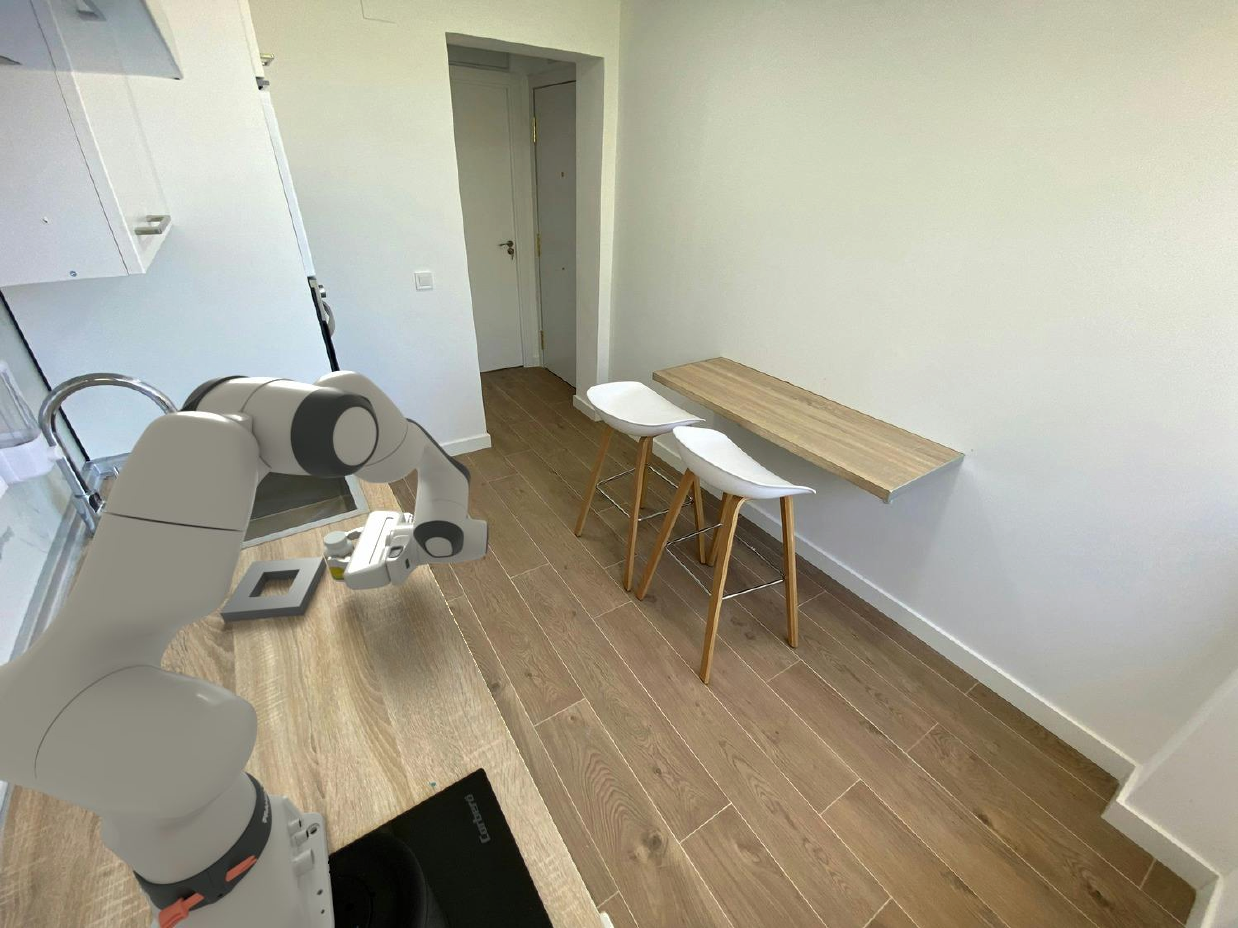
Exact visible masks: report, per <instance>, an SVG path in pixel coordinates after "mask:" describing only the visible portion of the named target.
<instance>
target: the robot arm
mask: <svg viewBox="0 0 1238 928" xmlns="http://www.w3.org/2000/svg"><path fill="white" fill-rule="evenodd" d="M414 470H416V471H417V490H416V499H415V506H414V514H412V513H411V512H402V511H399V510H374V511H371V512H370V513H369V514H368V516H367V519H366V520H365V523H364V525H363V526H362V527H357V528H354V529H351V530H349V531H348V532H346V531H344V532H345V533H346V535H347V538H348V539H349V540H350V541H354V540H357V542H356V544H355V546H354V551H353V553H352V555H351V557H346V558H345V559H342V558H339V556H338V555H330V556H329V557H328V559H327V561H326V560H325V562H326V566H327V567H328V566H329V567H337V566H338V567H340V568H342V569H344V570H345V572H344V574H343V577H344V580H345V582H344V583H345V585H346V587H347V588H348V589H350V590H352V591H361V590H362V591H363V590H370V589H371V590H372V589H379V588H382V587H383V588H384V587H387V586H388V585H389V584H390V583H391V585H392V586H393V587H398V586H402V585H404V584H405V583H406V581H407V580H408V579H409V577H410V576H411V574H412V573H413V572H414V571H415V570H416V569H417V568H418V566H427V565H429V564H431V563H432V564H433V563H440V564H454V563H455V564H456V563H461V562H470V561H474V560H476V559H477V560H479V559H481V558H484V557H485V556H486V554H487V553H488V549H489V538H490V527H489V524H488V523H489V522H487V521H486V520H483V519H473V518H472V517H471V515H469V514H468V510H469V509H468V508H469V491H470V487H471V479H472V475H471V472H470V471H469V469H468V468H467V467H466V466H465V465H464V464H463V463H461V462H460V461H458V460H456V459H455V458H454V457H452V456H450V455H449V454H448V453H447V452H446V451H445V449H443V447H442V446H441V445H440V444H439V442H437V440H436V439H435V438H434V437H432V435H431V434H430V433H429V432H428V431H427V430H426V429H425V428H424V426H422V425H421V424H420V423H418V422H417V421H415V420H413V419H412V418H409V417H405V415H404V414H403V413H402V411H401V410H400V409H399V408H398V406H397V405H396V403H394V402H393V401H392V400H391V398H390V397H388V395H387V394H386V393H385V392H384V391H383V390H382V389H381V388H380V387H379V386H378V385H376V384H375V383H374V382H373V381H372V380H371V379H370V378H368V377H367V376H365V374H364V375H363V374H361V373H360V372H358V371H357V372H356V371H353V370H337V371H333V372H329V373H327V374H325V375H323V376H320V377H319V378H317V380H315V381H314V382H313V383H312V384H311V383H307V382H300V381H296V380H293V379H290V378H280V377H266V376H265V377H257V376H256V377H255V376H254V377H250V376H247V375H246V376H245V375H239V374H238V375H226V376H221V377H216V378H212V379H209V380H207V381H205V382H203V383H202V384H200V385H198V386H197V387H196V388H195V389H194V390H193V391H191V393H190V394H189V395H188V397H187V398H186V399H185V401H184V402H183V405H182V407H181V408H180V409H179V410H178V411H176V412H170V413H167V414H166V413H165V414H163V415H161V416H158V417H157V418H155V419H154V420H153V421H152V422H150V423H149V424H148V425H147V426H146V428H145V430H144V431H143V432H142V434H141V435H140V436H139V438H138V440H137V441H136V443H135V444H134V446H133V448H132V449H131V451H130V453H129V455H127V458H126V460H125V461H124V463H123V465H122V467H121V469H120V471H119V473H118V475H117V477H116V479H115V482H114V483H113V485H112V488H111V490H110V492H109V495H108V498H107V500H106V503H105V505H104V508H103V511H102V513H101V516H100V519H99V522H98V525H97V528H96V530H95V531H94V532H95V533H94V535H93V537H92V540H91V542H90V545H89V548H88V550H87V554H86V555H85V558H84V561H83V563H82V566H81V569H80V572H79V574H78V575H77V576H78V577H77V579H76V582H75V584H74V586H73V588H72V590H71V592H70V593H69V595H68V597H67V599H66V600H65V603H63V606H62V607H61V608H60V610H59V612H58V613H57V615H56V616H55V617H54V618H53V619H52V621H51V622H50V624H49V625H48V626H47V628H46V629H45V630H44V631H43V632H42V633H41V635H40V636H39V637H38V638H37V639H36V640H35V641H34V643H33V644H32V645H31V646H30V647H29V648H28V649H27V650H25V651H24V652H23V653H22V654H21V655H19V656H18V657H16V658H14V659H12V660H9V661H8V662H5V663H3V664H2V665H0V782H1V781H2V782H5V783H8V784H12V785H15V786H18V787H22V788H25V789H28V790H32V791H35V792H39V793H42V794H45V795H47V796H49V797H51V798H54V799H57V800H61V801H63V802H67V803H69V804H71V805H74V806H77V807H79V808H81V809H84V810H86V811H89V812H90V813H93V814H95V815H97V816H98V817H100V818H102V819H101V823H100V830H99V831H100V837H101V840H102V843H103V845H104V846H105V848H106V849H108V850H109V851H110V852H112V853H113V854H114V855H115V856H116V857H117V858H118V859H120V860H121V861H122V863H125V864H126V865H127V866H128V867H130V868H131V869H132V872H133V875H134V877H135V878H136V881H137V883H138V885H139V887H140V889H139V894H140V895H142V896H143V897H144V898H146V900H147V903H148V905H149V907H150V910H151V912H152V914H153V916H154V919H153V920H152V922H151V923H150V925H149V927H148V928H335V913H334V906H333V905H334V904H333V893H332V892H333V891H332V885H331V884H332V882H331V874H330V873H329V871H330V863H329V864H328V861H329V851H328V841H327V832H326V831H327V830H326V820H325V817H324V816H323V815H322V814H321V813H320V812H316V811H314V812H313V811H312V812H302V811H301V810H300V809H299V808H298V806H297V805H296V804H295V803H294V802H293V800H292V799H291V798H290V797H289V796H287V795H283V794H282V795H281V794H274V793H273V794H272V793H267V792H266V790H265V788H264V786H263V784H262V783H261V782H260V781H259V780H258V779H257V778H255V777H254V775H252V774H251V773H249V772H247V771H245V770H244V769H245V767H246V766H247V764H248V762H249V760H250V758H251V756H252V754H253V751H254V748H255V746H256V742H257V737H258V730H259V724H258V716H257V712H256V709H255V707H254V706H253V704H252V703H251V702H250V701H248V700H246V699H244V698H243V697H241V696H240V695H238V694H237V693H235V692H233V691H231V690H230V689H227V688H225V687H224V686H222V685H220V684H217V683H216V682H214V681H211V680H208V679H205V678H200V677H196V676H193V675H187V674H184V673H179V672H175V671H171V670H167V669H163V668H162V660H163V657H164V655H165V652H166V650H167V649H168V647H169V645H170V643H171V642H172V641H173V639H174V638H175V636H176V635H177V634H178V633H179V631H180V630H181V629H182V628H184V627H185V626H187V625H190V624H193V623H196V622H197V621H201V620H202V619H204V618H206V617H208V616H210V615H211V614H213V613H215V612H216V611H217V610H218V609H219V608H220V607H221V606H222V605H223V603H224V602H225V601H226V599H227V597H228V595H229V591H230V587H231V584H232V581H233V578H234V574H235V570H236V568H237V565H238V561H239V559H240V554H241V551H242V548H243V544H244V542H245V537H246V535H247V530H248V528H249V525H250V520H251V516H252V513H253V508H254V505H255V499H256V494H257V487H258V486H259V484H260V483H261V481H262V480H263V479H264V478H265V477H266V476H267V475H268V474H269V473H270V472H271V473H278V474H285V475H286V474H287V475H296V476H298V475H299V476H312V477H315V478H321V479H332V478H341V477H342V478H343V477H349V476H351V475H353V476H355V477H356V478H358V479H360V480H362V481H363V482H366V483H369V484H375V485H376V484H378V485H379V484H381V485H382V484H389V483H390V484H391V483H393V482H397V481H399V480H401V479H403V478H405V477H407V476H408V475H409V474H411V473H412V472H413V471H414ZM329 567H328V568H329ZM314 831H315V832H314ZM313 832H314V833H313Z"/></svg>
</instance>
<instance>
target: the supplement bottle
mask: <svg viewBox="0 0 1238 928" xmlns="http://www.w3.org/2000/svg"><path fill="white" fill-rule="evenodd" d="M345 532H346V531H343V530H334V531H331V532H328V533H327V534H326V535H325V536H324V537H323V541H322V542H323V544H324V548H323V550H322V551H323V555H324V556H323V557H324V559H325V562H326V561H327V559H328V557H329V556H330V555H338V556H339V558H342V559H345V558H346V557H351V555H352V553H353V551H354V548H355V546H354V543H353V540H351V541H350V540H349V539H348V538H347V535H346V533H345ZM327 567H328V570H329V572H330V575H331V577H332V579H333V581H335V582H339V583H345V580H344V577H343V574H344V572H345V570H344V569H342V568H340V567H338V566H337V567H329V566H328V565H327Z"/></svg>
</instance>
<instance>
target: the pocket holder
mask: <svg viewBox="0 0 1238 928" xmlns="http://www.w3.org/2000/svg"><path fill="white" fill-rule="evenodd" d="M326 567H327V562H326V559H325V556H312V557H311V556H310V557H298V558H285V559H271V560H268V559H267V560H258V561H257V560H256V561H252V562H251V564H250V565H249V567H248V569H247V570H246V572H245V573H244V574H243V576H242V578H241V580H240V581H239V582H238V583H237V586H236V587H235V589H234V590H233V592H232V593H231V595H230V597H229V598H228V600H227V601H226V603H225V604H224V606H223V607H222V609H221V610H220V612H219V614H220V616H221V618H222V620H223V622H224V623H229V622H239V621H241V622H242V621H250V620H251V621H252V620H261V619H262V620H263V619H271V618H272V619H274V618H284V617H286V618H287V617H295V616H296V617H298V616H303V615H304V614H305V612H306V610H307V608H308V606H309V604H310V601H311V599H312V597H313V595H314V594H315V593H314V592H315V591H316V589H317V587H318V584H319V582H320V580H321V578H322V576H323V573H324V571H325V569H326ZM292 579H294V580H293V582H292V584H291V586H290V588H289V590H288V592H287V594H277V595H275V594H274V595H265V596H264V595H262V596H260V595H261V593H262V591H263V590H264V588H265V586H266V585H267V583H268V582H270V581H278V580H279V581H280V580H281V581H282V580H292Z"/></svg>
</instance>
